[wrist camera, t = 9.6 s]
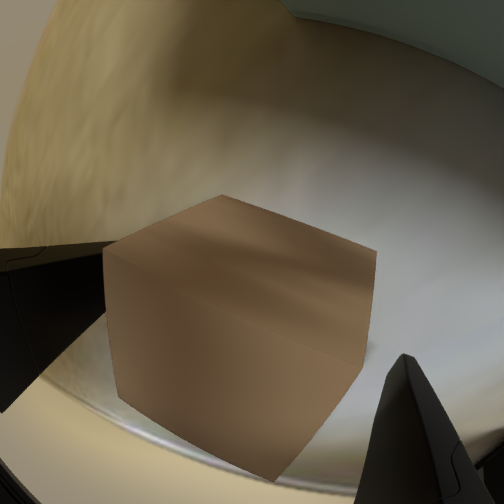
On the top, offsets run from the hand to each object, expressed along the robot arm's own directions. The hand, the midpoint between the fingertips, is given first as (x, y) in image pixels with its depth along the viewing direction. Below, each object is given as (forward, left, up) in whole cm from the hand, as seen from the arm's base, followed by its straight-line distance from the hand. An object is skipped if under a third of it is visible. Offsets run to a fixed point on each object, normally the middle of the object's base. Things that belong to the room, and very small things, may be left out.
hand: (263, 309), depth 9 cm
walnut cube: (0, 0, -1) cm, 1 cm away
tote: (-5, -17, -1) cm, 18 cm away
